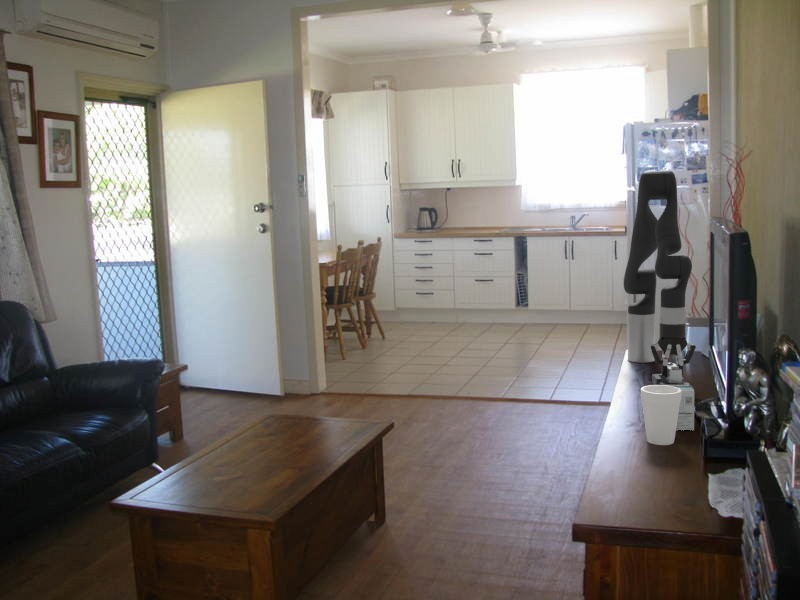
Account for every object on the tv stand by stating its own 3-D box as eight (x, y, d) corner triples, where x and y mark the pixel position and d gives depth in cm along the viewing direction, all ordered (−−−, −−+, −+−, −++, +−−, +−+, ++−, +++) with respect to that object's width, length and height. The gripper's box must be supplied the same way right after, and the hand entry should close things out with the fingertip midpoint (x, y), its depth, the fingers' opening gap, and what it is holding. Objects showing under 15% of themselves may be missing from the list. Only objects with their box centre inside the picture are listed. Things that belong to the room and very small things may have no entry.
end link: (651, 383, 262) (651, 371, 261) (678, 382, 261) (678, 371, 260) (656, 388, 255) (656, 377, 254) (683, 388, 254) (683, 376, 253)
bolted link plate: (662, 375, 256) (663, 361, 256) (674, 375, 256) (674, 361, 255) (670, 383, 246) (670, 368, 246) (681, 383, 246) (681, 368, 246)
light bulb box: (688, 423, 216) (689, 383, 215) (695, 431, 209) (695, 389, 208) (646, 424, 217) (647, 384, 216) (652, 431, 210) (652, 390, 209)
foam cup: (675, 449, 195) (675, 395, 194) (636, 444, 200) (636, 391, 199) (684, 438, 203) (684, 387, 202) (646, 433, 208) (646, 383, 207)
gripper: (693, 319, 252) (692, 374, 254) (646, 319, 253) (645, 374, 256) (699, 323, 244) (699, 379, 247) (651, 323, 246) (650, 380, 248)
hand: (672, 377), depth 251 cm, fingers closed on bolted link plate, 3 cm apart
